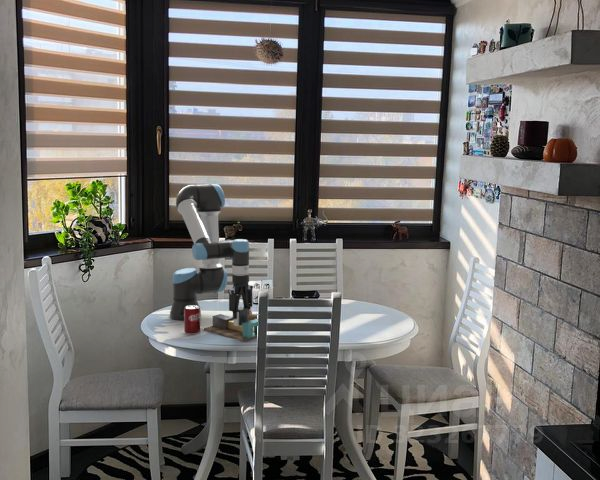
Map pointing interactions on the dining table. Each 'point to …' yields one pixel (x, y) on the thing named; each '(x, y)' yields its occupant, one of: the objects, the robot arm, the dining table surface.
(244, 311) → the square head mallet
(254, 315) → the pipe
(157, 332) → the dining table surface
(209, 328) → the base board
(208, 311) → the dining table surface
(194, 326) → the soda can
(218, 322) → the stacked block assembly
